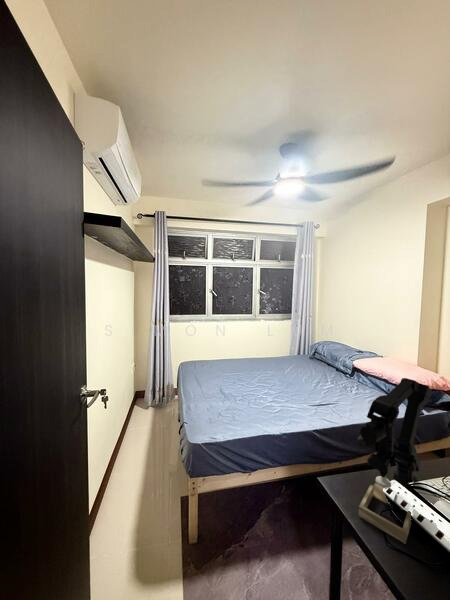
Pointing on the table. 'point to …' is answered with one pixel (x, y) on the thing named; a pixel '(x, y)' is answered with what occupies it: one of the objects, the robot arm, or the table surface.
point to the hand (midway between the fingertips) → (383, 475)
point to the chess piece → (383, 482)
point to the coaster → (380, 493)
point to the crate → (383, 519)
